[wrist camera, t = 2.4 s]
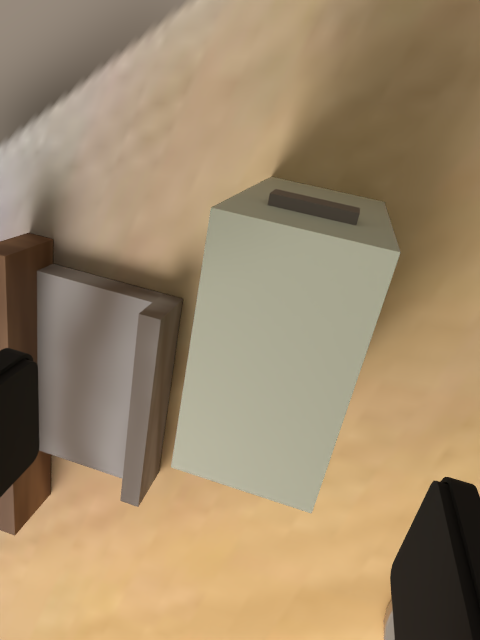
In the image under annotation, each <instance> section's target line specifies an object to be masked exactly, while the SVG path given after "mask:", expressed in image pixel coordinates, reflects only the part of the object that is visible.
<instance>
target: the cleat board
mask: <svg viewBox="0 0 480 640" xmlns="http://www.w3.org/2000/svg"><path fill="white" fill-rule="evenodd" d="M182 303H183V299H182V298H178V297H174V296H170V295H167V294H163V293H159V292H156V291H152V290H148V289H145V288H141V287H137V286H133V285H130V284H126V283H122V282H119V281H115V280H111V279H108V278H104V277H100V276H96V275H93V274H89V273H85V272H82V271H78V270H74V269H71V268H67V267H63V266H59V265H56V264H53V239H50V238H46V237H43V236H39V235H35V234H31V233H27V234H23V235H20V236H17V237H14V238H10V239H7V240H4V241H1V242H0V351H1V350H2V349H5V348H11V349H14V350H18V351H21V352H24V353H28V354H30V355H31V356H32V357H33V362H36V363H37V365H38V394H39V452H38V455H37V457H36V459H35V461H34V462H33V463H32V464H31V465H30V466H29V468H28V469H27V470H26V471H25V472H24V473H23V474H22V475H21V476H20V477H19V478H18V479H17V480H16V481H15V482H14V483H13V484H12V486H11V487H10V488H9V489H8V490H7V491H6V492H5V493H4V494H3V495H2V496H1V497H0V530H1V531H4V532H7V533H9V534H12V535H16V534H17V532H18V531H19V530H20V529H21V528H22V527H23V525H24V524H25V523H26V522H27V521H28V520H29V518H30V517H31V516H32V515H33V514H34V513H35V511H36V510H37V509H38V508H39V507H40V506H41V504H42V503H43V502H44V501H45V500H46V499H47V497H48V496H49V495H50V494H51V455H54V456H57V457H60V458H63V459H66V460H69V461H72V462H75V463H78V464H81V465H84V466H87V467H90V468H93V469H96V470H99V471H102V472H104V473H107V474H110V475H113V476H116V477H119V478H122V479H123V480H122V490H121V501H123V502H125V503H128V504H131V505H134V506H137V507H138V506H139V505H140V503H141V501H142V500H143V498H144V496H145V495H146V493H147V491H148V490H149V488H150V486H151V485H152V483H153V481H154V480H155V478H156V476H157V474H158V473H159V467H160V460H161V453H162V445H163V438H164V431H165V424H166V417H167V410H168V403H169V395H170V388H171V381H172V374H173V367H174V360H175V353H176V345H177V338H178V331H179V324H180V317H181V310H182Z"/></svg>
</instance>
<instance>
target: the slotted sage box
mask: <svg viewBox="0 0 480 640" xmlns="http://www.w3.org/2000/svg"><path fill="white" fill-rule="evenodd" d="M399 255H400V249H399V246H398V243H397V240H396V237H395V234H394V230H393V227H392V224H391V221H390V218H389V215H388V211H387V208H386V205H385V202H383V201H379V200H374V199H370V198H365V197H361V196H356V195H352V194H347V193H343V192H338V191H334V190H329V189H325V188H320V187H316V186H311V185H307V184H302V183H298V182H293V181H289V180H284V179H280V178H275V177H270V178H268V179H266V180H264V181H262V182H260V183H258V184H256V185H254V186H252V187H250V188H248V189H246V190H244V191H242V192H240V193H238V194H236V195H234V196H233V197H231V198H229V199H227V200H225V201H223V202H221V203H219V204H217V205H215V206H213V207H211V211H210V217H209V224H208V230H207V237H206V243H205V250H204V256H203V263H202V269H201V276H200V282H199V289H198V295H197V302H196V308H195V315H194V321H193V328H192V334H191V341H190V347H189V354H188V360H187V367H186V373H185V380H184V386H183V393H182V399H181V406H180V412H179V419H178V425H177V432H176V438H175V445H174V451H173V458H172V464H171V467H172V468H175V469H178V470H181V471H184V472H187V473H190V474H193V475H196V476H199V477H202V478H205V479H208V480H211V481H214V482H217V483H220V484H223V485H226V486H229V487H232V488H235V489H238V490H242V491H245V492H248V493H251V494H254V495H257V496H260V497H263V498H266V499H269V500H272V501H275V502H278V503H281V504H284V505H287V506H290V507H293V508H296V509H299V510H302V511H305V512H308V513H312V511H313V508H314V505H315V502H316V499H317V496H318V493H319V490H320V487H321V485H322V482H323V479H324V476H325V473H326V470H327V467H328V464H329V461H330V458H331V455H332V452H333V449H334V446H335V443H336V440H337V438H338V435H339V432H340V429H341V426H342V423H343V420H344V417H345V414H346V411H347V408H348V405H349V402H350V399H351V396H352V393H353V390H354V388H355V385H356V382H357V379H358V376H359V373H360V370H361V367H362V364H363V361H364V358H365V355H366V352H367V349H368V346H369V343H370V341H371V338H372V335H373V332H374V329H375V326H376V323H377V320H378V317H379V314H380V311H381V308H382V305H383V302H384V299H385V296H386V294H387V291H388V288H389V285H390V282H391V279H392V276H393V273H394V270H395V267H396V264H397V261H398V258H399Z"/></svg>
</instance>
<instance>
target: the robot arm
mask: <svg viewBox="0 0 480 640" xmlns="http://www.w3.org/2000/svg"><path fill="white" fill-rule="evenodd" d="M38 452H39V394H38V365H37V363H36V362H33V357H32V356H31V355H30V354H28V353H24V352H21V351H18V350H14V349H11V348H5V349H2V350H1V351H0V497H1V496H2V495H3V494H4V493H5V492H6V491H7V490H8V489H9V488H10V487H11V486H12V484H13V483H14V482H15V481H16V480H17V479H18V478H19V477H20V476H21V475H22V474H23V473H24V472H25V471H26V470H27V469H28V468H29V466H30V465H31V464H32V463H33V462H34V461H35V459H36V457H37V455H38ZM390 581H391V595H392V600H391V602H390V603H389V605H388V607H387V608H386V613H385V617H384V640H480V497H479V494H478V491H477V488H476V486H474V485H473V484H470V483H466V482H463V481H460V480H456V479H453V478H449V477H444V478H443V479H442V481H441V482H439V481H433V482H432V484H431V486H430V488H429V490H428V492H427V494H426V496H425V498H424V500H423V502H422V504H421V506H420V508H419V510H418V512H417V514H416V516H415V519H414V521H413V523H412V525H411V527H410V529H409V531H408V533H407V535H406V537H405V539H404V541H403V543H402V545H401V547H400V549H399V552H398V554H397V556H396V558H395V560H394V562H393V565H392V569H391V577H390Z"/></svg>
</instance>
